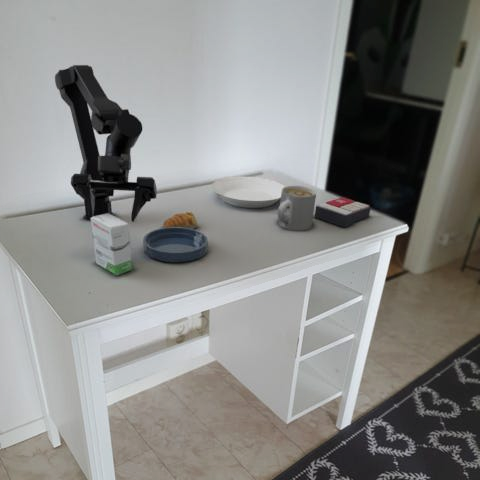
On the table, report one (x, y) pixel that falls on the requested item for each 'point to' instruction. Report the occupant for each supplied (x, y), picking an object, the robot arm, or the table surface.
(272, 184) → the bowl
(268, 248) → the table surface
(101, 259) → the ink box
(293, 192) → the coffee mug
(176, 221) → the pastry
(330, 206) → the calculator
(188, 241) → the glazed bowl
